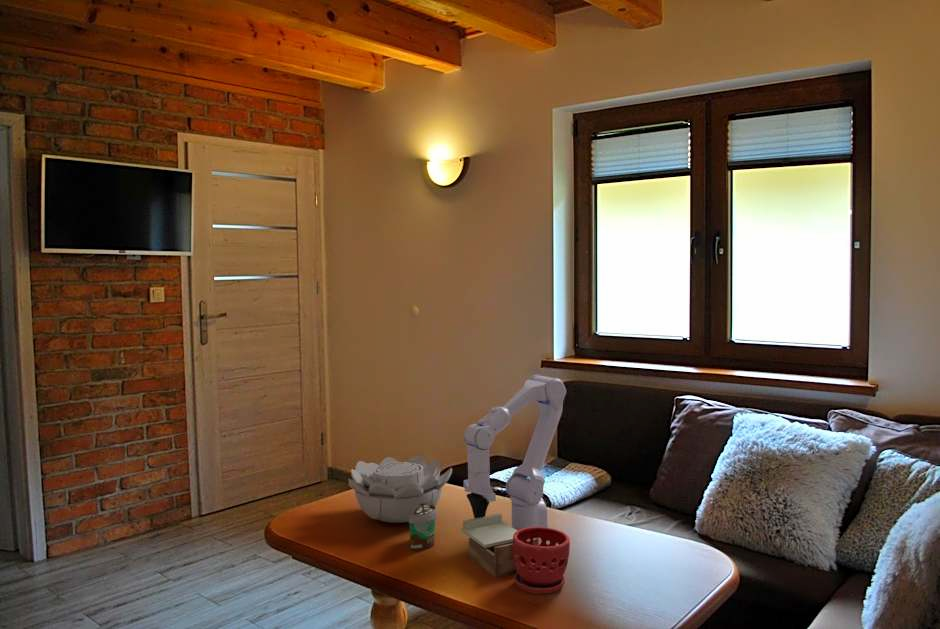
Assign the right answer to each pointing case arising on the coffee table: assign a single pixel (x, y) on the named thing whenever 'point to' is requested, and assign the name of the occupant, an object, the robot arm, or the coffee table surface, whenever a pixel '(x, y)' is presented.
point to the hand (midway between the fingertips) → (479, 520)
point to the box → (495, 557)
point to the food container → (423, 526)
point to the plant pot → (540, 559)
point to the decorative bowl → (397, 487)
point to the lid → (488, 530)
